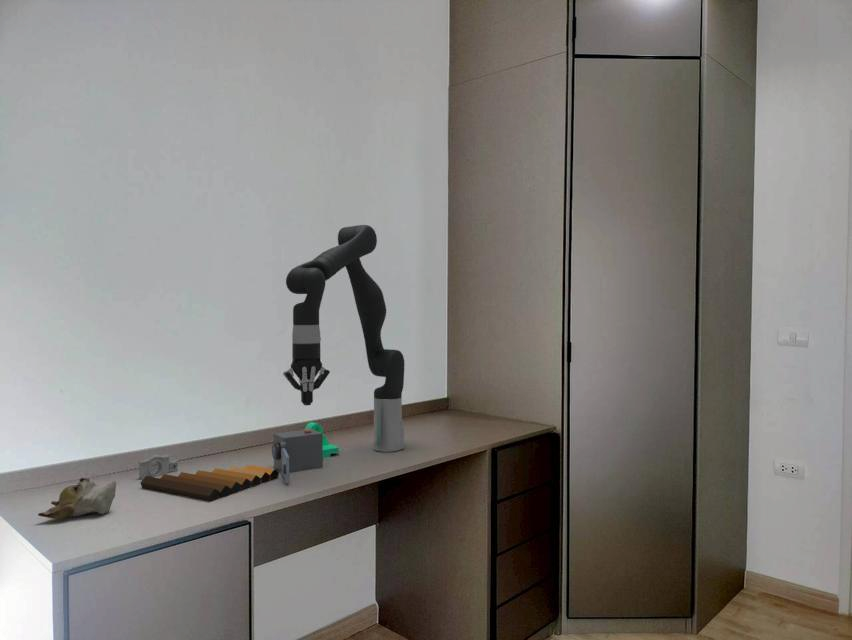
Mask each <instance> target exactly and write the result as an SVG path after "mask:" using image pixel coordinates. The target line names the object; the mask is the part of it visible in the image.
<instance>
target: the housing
mask: <svg viewBox="0 0 852 640" xmlns="http://www.w3.org/2000/svg"><path fill="white" fill-rule="evenodd" d="M323 434H324V432H323V433H320V432H318V431H315V430H313V429H305V428H304V429H301V430H294V431H293V430H291V431H284V432H283V431H282V432H275V433H274V432H273V443H272V445H271V455H272V456H271V457H272V459H273V469H275V470H277V471H280V472H281V448H282V447H285V449H286V451H287V453H288V456H289V473H293V472H299V471H306V470H312V469H320V468H323V467H324V464H323V463H324V458H323Z"/></svg>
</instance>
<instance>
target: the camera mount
mask: <svg viewBox="0 0 852 640" xmlns="http://www.w3.org/2000/svg"><path fill="white" fill-rule="evenodd" d="M305 429H313V430H315V431H318V432H320V433H323V459H326V458H330V457H331V455H332V454H337V453H340V447H339V446H336V445H334V444H331V443H330V442H329V440H328V438H327V437H326V436H325V434H324V432H323V426H322V425H321V424H320V423H317V422H309V423H307V425H306V426H305V428H304V430H305Z"/></svg>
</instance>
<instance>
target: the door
mask: <svg viewBox="0 0 852 640" xmlns="http://www.w3.org/2000/svg"><path fill="white" fill-rule="evenodd" d="M280 473H281V474H282V476H283V479H284V481H285V483H286V484H290V472H289V456H288V453H287V451H286V449H285V447H282V448H281V471H280Z"/></svg>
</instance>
